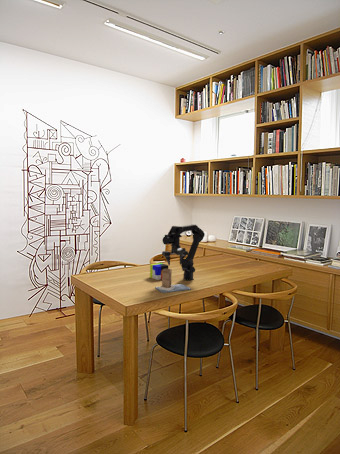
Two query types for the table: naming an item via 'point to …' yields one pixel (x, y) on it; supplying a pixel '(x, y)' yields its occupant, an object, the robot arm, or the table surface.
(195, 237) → the robot arm
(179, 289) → the blueprint board
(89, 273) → the table surface
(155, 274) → the puzzle toy
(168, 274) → the pillar
